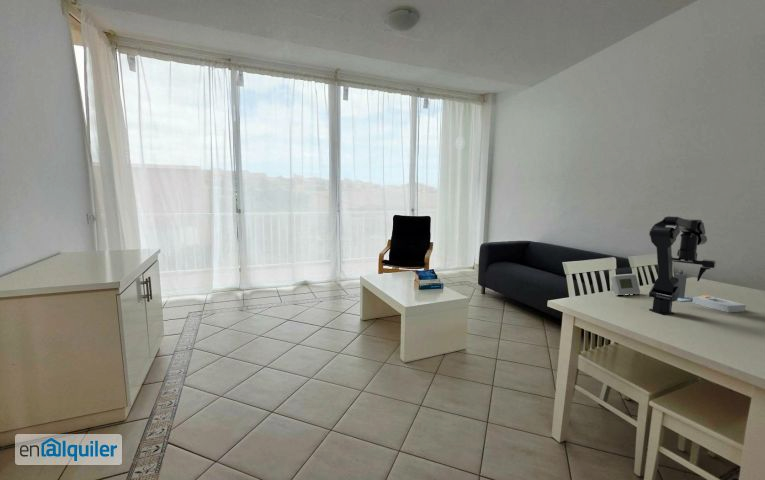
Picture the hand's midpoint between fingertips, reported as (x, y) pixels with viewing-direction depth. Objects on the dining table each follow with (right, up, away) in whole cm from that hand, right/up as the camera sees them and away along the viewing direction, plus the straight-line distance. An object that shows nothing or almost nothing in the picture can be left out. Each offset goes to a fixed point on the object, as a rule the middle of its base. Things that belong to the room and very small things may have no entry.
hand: (684, 279), depth 150 cm
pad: (+10, -11, +14) cm, 21 cm away
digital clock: (-13, -11, +20) cm, 26 cm away
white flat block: (+16, -13, +1) cm, 21 cm away
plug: (+10, -11, +14) cm, 20 cm away
